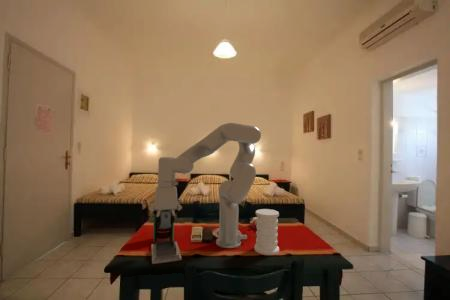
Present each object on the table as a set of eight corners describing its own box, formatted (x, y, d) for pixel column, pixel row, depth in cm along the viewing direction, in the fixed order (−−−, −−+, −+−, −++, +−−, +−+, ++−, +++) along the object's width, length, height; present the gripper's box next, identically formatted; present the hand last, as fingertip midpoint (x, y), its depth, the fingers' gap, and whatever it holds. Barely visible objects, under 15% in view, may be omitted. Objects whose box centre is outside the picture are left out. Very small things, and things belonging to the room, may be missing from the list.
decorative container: (279, 256, 104) (280, 216, 104) (253, 253, 107) (254, 214, 106) (278, 245, 116) (279, 209, 116) (255, 243, 118) (255, 208, 118)
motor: (154, 244, 115) (155, 204, 115) (151, 238, 123) (152, 200, 123) (175, 241, 120) (175, 202, 120) (170, 235, 128) (171, 198, 127)
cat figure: (276, 240, 127) (262, 221, 152) (276, 224, 126) (263, 208, 151) (258, 240, 126) (248, 222, 151) (258, 224, 125) (248, 209, 150)
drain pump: (170, 224, 109) (171, 207, 109) (171, 228, 103) (172, 210, 103) (159, 224, 108) (159, 207, 108) (160, 229, 101) (160, 211, 101)
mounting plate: (176, 243, 117) (176, 236, 117) (181, 260, 99) (181, 251, 99) (151, 246, 113) (151, 239, 113) (152, 264, 96) (152, 255, 96)
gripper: (184, 182, 112) (183, 220, 112) (146, 183, 107) (145, 223, 107) (186, 185, 105) (185, 225, 105) (146, 186, 100) (145, 228, 100)
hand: (165, 224), depth 106 cm, fingers closed on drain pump, 5 cm apart
